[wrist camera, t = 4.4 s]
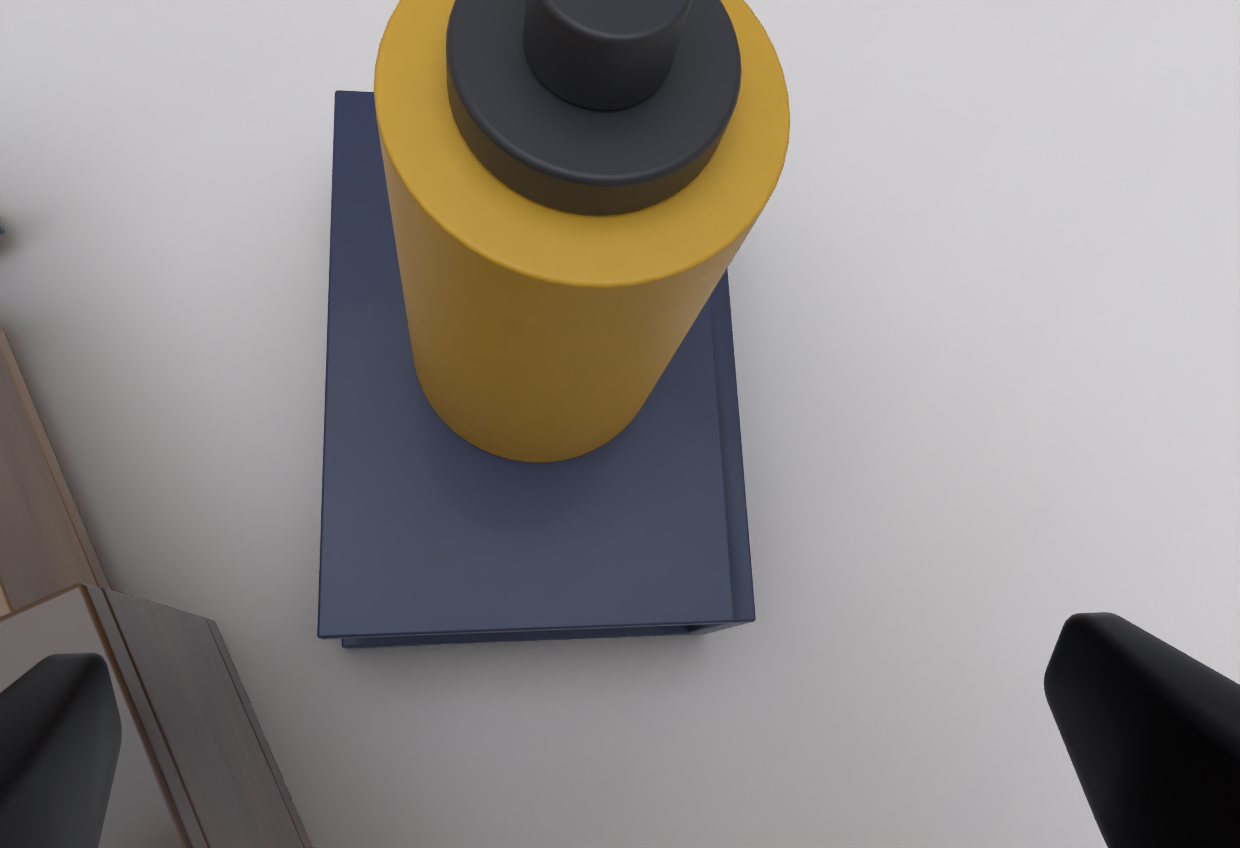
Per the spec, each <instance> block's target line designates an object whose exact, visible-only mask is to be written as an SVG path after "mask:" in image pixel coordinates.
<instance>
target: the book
mask: <svg viewBox="0 0 1240 848" xmlns="http://www.w3.org/2000/svg"><path fill="white" fill-rule="evenodd" d="M755 619H756V618H755V605H754V593H753V581H752V568H751V556H750V544H749V531H748V519H747V507H746V494H745V482H744V470H743V457H742V445H741V433H740V420H739V408H738V396H737V383H736V371H735V359H734V346H733V334H732V322H731V309H730V297H729V284H728V272H727V269H726V270H725V272H724V274H723V275H722V277H721V279H720V280H719V282H718V284H717V285H716V287H715V288H714V290H713V292H712V293H711V295H710V297H709V298H708V300H707V301H706V303H705V305H704V306H703V308H702V310H701V311H700V313H699V314H698V316H697V318H696V319H695V321H694V323H693V324H692V326H691V328H690V329H689V331H688V332H687V334H686V336H685V337H684V339H683V341H682V342H681V344H680V345H679V347H678V349H677V350H676V352H675V354H674V355H673V357H672V358H671V360H670V362H669V363H668V365H667V367H666V368H665V370H664V371H663V373H662V375H661V376H660V378H659V380H658V381H657V383H656V385H655V386H654V388H653V389H652V391H651V393H650V394H649V396H648V398H647V399H646V401H645V402H644V404H643V406H642V407H641V409H640V411H639V412H638V413H637V414H636V416H635V417H634V418H633V420H632V421H631V422H630V423H629V424H628V425H627V426H626V427H625V428H624V429H623V430H622V431H621V432H620V433H619V434H618V435H617V436H615V437H614V438H613V439H611V440H610V441H609V442H607V443H606V444H604V445H602V446H600V447H599V448H597V449H595V450H593V451H591V452H588V453H586V454H583V455H581V456H578V457H574V458H570V459H566V460H562V461H554V462H546V463H545V462H523V461H516V460H511V459H507V458H503V457H500V456H496V455H494V454H491V453H489V452H486V451H484V450H482V449H480V448H478V447H476V446H474V445H473V444H471V443H469V442H467V441H466V440H465V439H463V438H462V437H461V436H459V435H458V434H457V433H455V432H454V431H453V430H452V429H451V428H450V427H449V426H448V425H447V424H446V423H445V422H444V421H443V420H442V419H441V418H440V417H439V415H438V414H437V413H436V411H435V410H434V409H433V408H432V406H431V404H430V403H429V401H428V399H427V397H426V396H425V394H424V392H423V390H422V387H421V385H420V382H419V380H418V377H417V373H416V369H415V365H414V360H413V353H412V347H411V340H410V334H409V327H408V321H407V314H406V308H405V301H404V294H403V288H402V281H401V275H400V268H399V262H398V255H397V249H396V242H395V235H394V229H393V222H392V216H391V209H390V203H389V196H388V190H387V183H386V177H385V170H384V163H383V157H382V150H381V144H380V137H379V131H378V124H377V118H376V108H375V99H374V92H359V91H336V92H335V108H334V138H333V169H332V200H331V231H330V262H329V292H328V323H327V354H326V385H325V416H324V447H323V477H322V508H321V539H320V570H319V601H318V631H317V636H318V638H321V639H339V638H342V647H344V648H366V647H391V646H415V645H440V644H465V643H490V642H515V641H540V640H565V639H590V638H615V637H640V636H665V635H690V634H707V633H710V632H714V631H718V630H722V629H726V628H730V627H734V626H738V625H742V624H746V623H750V622H753V621H755Z"/></svg>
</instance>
